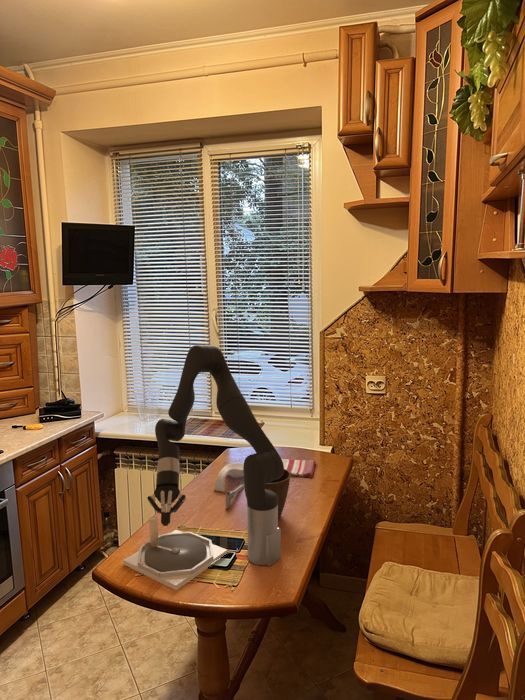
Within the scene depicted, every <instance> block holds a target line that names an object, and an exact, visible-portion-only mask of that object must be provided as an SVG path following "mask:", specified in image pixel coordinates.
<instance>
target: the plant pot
mask: <svg viewBox="0 0 525 700" xmlns="http://www.w3.org/2000/svg"><path fill="white" fill-rule="evenodd" d="M290 480H291V476H290V472H289V471H287V470H286V469H284V473H283V476H282V477H281V478H279V479H277V480H274V481H272V482H269V483H266V484H265V489H267V490H271V491H273V492H275V493H276V494H277V497H278V521H279V519H280V518H281V516H282V514H283V510H284V508H285V505H286V502H287V498H288V497H287V496H288V492H289V487H290Z"/></svg>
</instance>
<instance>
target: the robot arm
mask: <svg viewBox="0 0 525 700" xmlns="http://www.w3.org/2000/svg"><path fill="white" fill-rule="evenodd" d="M201 373H203V374H204V373H209V374H210V376H211V377H212V379H213V380H214V382H215V385H216V388H217V389H216V391H217V392H216V404H215V405H216V409H217V411H218V413H219V416H221V419H222V422H224V425H226V427H227V428H228V429H230V430H231V431H232V432H234V433H235V434H236V435H237V436H238V437H241V438H242V439H244V440H245V441H246V442H247V443H248V444H249V445H250V446H251V448H253V450H254V452H255V453H252V454H248V455H247V456H246V457H245V459H244V462H243V463H244V466H243V472H244V477H243V482H244V484H243V485H244V494H245V498H246V508H247V509H246V510H247V511H246V513H247V518H246V519H247V520H246V523H247V529H246V530H247V560H249V562H251V563H252V564H254V565H258V566H268V567H270V566H272V565H273V564H274V563H275V562H276V561H278V560H279V559H280V558H281V557H282V551H281V550H282V537H281V535H282V532H281V529H282V528H280V527H279V520H278V497H277V494H276V493H275V492H273V491H271V490H267V489H265V484H266V483H269V482H272V481H274V480H277V479H279V478H281V477H282V476H283V473H284V465H283V462H282V459H283V458H281V456H280V453H279V452H278V451H277V449H276V448H275V446H274V444H273V443H272V442H271V440H270V438H268V436H267V435H266V434H265V432H264V430H263V428H262V427H261V425H260V424H259V421H257V419H256V416H255V415H254V413H253V411H252V409H251V407H250V406H249V403H248V402H247V401H246V398H245V396H244V395H243V394H242V392H241V390H240V388H239V386H238V384H237V382H236V381H235V379H234V377H233V375H232V372H231V370H230V368H229V366H228V363H227V361H226V358H225V356H224V354H223V351H222V350H221V349H220V348H219V347H218V346H216V345H213V344H195V345H192V346H191V347H190V349H189V350H188V351H187V354H186V357H185V361H184V364H183V368H182V372H181V375H180V381H179V384H178V387H177V391H176V392H175V395H174V398H173V400H172V402H171V404H170V406H169V409H168V412H167V414H168V417H169V418H171V419H167V418H161V419H159V420H157V422H156V424H155V427H154V428H155V429H154V431H155V432H154V433H155V438H156V441H157V448H158V462H157V465H156V466H157V468H156V477H155V478H156V479H155V480H156V482H155V489H154V492H153V494H152V495H149V496H147V497H146V498H147V502H148V503H149V504H150V506H151V507H152V508H153V510H154V511H156V513H157V514H161V515H160V523H161V525H162V526H163V527H168V526H169V525H170V524H171V515H172V514H173V513H176V512H177V511H178V510H179V509H180V508H181V506H183V504H184V503H185V501H186V499H187V498H186V495H185V494H183V493H181V490H180V472H181V471H180V447H179V445H177V444H176V443H174V442H180V441H181V440H182V439H183V438H184V437H185V434H186V424H187V421H188V417H189V415H190V412H191V411H192V408H193V406H194V404H195V398H196V397H195V396H196V395H195V388H194V387H195V386H194V384H195V380H196V378H197V376H198V375H199V374H201ZM173 441H174V442H173ZM156 499H157V501H158V503H160V506H161V507H159V505H158V504H157V503H156ZM176 500H177V501H176ZM174 503H175V504H174ZM173 504H174V505H173Z"/></svg>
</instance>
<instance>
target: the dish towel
mask: <svg viewBox="0 0 525 700" xmlns="http://www.w3.org/2000/svg"><path fill="white" fill-rule="evenodd" d="M281 459H282V462H283V465H284V469H286V470H287V471H289V472H290V477H295V476H299V478H310V477H312V478H313V474H314V471H315V466H316V461H315V459H309V460H308V459H307V460H305V459H304V460H303V459H302V460H299V459H287V458H286V459H285V458H281ZM314 465H315V466H314ZM301 476H302V477H301Z"/></svg>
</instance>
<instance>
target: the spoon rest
mask: <svg viewBox="0 0 525 700" xmlns="http://www.w3.org/2000/svg"><path fill="white" fill-rule="evenodd" d="M243 466H244V462H233V463H229V464H226V465H225V466H223V468H222V469H220V471H219V472H218V475H217V476H216V479H215V482H214V486H213V490H214V491H217V492H221V493H222V492H225V491H226V489H225V488H226V487H225V486H226V485H225V481H226V480H225V479H226V476H227V475H229V476H230V477H231V478H233V477H234V479H242V477H243V478H244V472H243Z"/></svg>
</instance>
